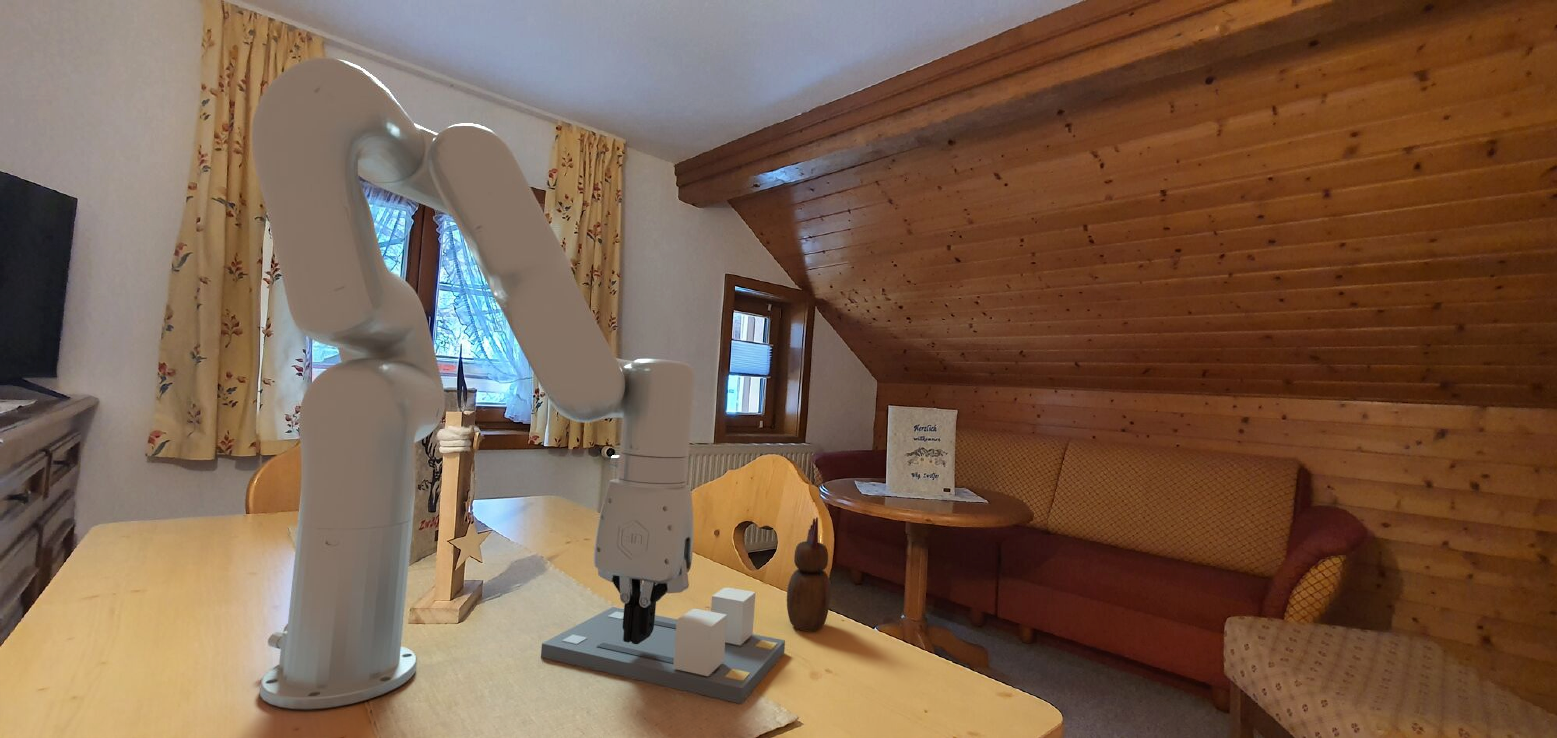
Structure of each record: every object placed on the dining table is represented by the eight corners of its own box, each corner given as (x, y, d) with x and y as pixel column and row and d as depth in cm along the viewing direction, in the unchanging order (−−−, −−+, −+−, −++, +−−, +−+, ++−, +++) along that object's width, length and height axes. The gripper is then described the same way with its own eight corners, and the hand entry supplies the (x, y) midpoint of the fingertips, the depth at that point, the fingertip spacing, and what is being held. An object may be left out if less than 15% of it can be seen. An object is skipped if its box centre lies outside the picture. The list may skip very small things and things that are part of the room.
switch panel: (540, 657, 70) (542, 642, 70) (611, 618, 83) (612, 606, 83) (741, 703, 62) (742, 687, 62) (784, 652, 76) (785, 639, 76)
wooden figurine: (824, 638, 81) (832, 521, 82) (781, 632, 82) (788, 516, 83) (831, 621, 88) (837, 512, 89) (790, 615, 89) (797, 508, 90)
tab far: (708, 639, 74) (711, 595, 74) (722, 628, 78) (725, 587, 78) (740, 645, 73) (743, 601, 73) (752, 633, 76) (755, 592, 77)
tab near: (673, 668, 65) (676, 619, 66) (690, 654, 69) (693, 608, 69) (708, 676, 64) (711, 626, 64) (723, 661, 68) (726, 614, 68)
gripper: (574, 465, 69) (557, 636, 68) (698, 481, 64) (682, 666, 63) (613, 461, 76) (598, 616, 75) (727, 475, 71) (713, 641, 70)
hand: (637, 638), depth 69 cm, fingers closed
